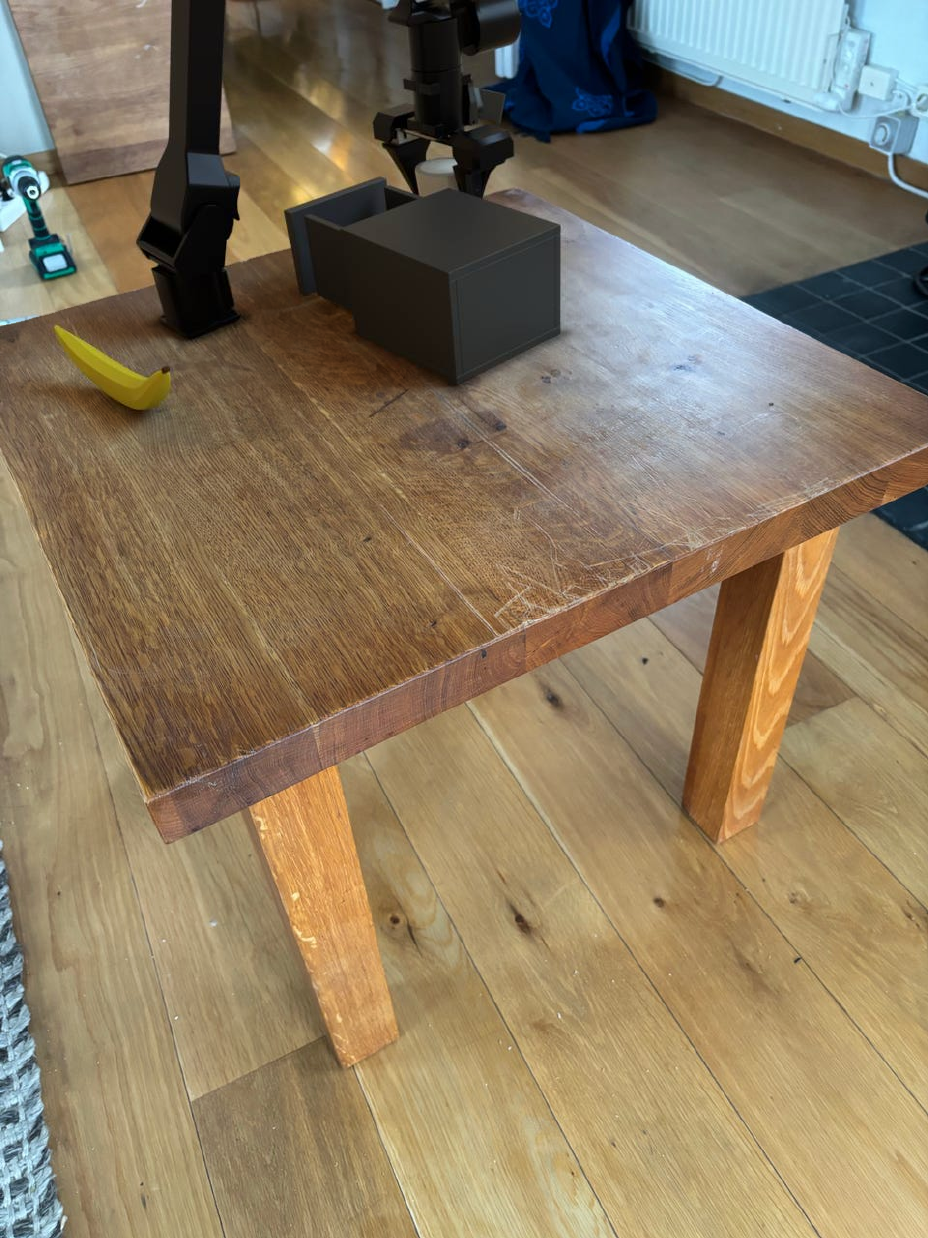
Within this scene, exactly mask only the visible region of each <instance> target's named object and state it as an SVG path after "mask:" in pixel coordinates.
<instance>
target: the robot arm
mask: <svg viewBox="0 0 928 1238" xmlns="http://www.w3.org/2000/svg"><path fill="white" fill-rule="evenodd" d="M170 8H171V10H170V58H169V59H170V62H169V64H170V65H169V103H168V106H169V107H168V138H167V139H168V140H167V144H166V147H165V149H164V151H163V153H162V155H161V158H160V159H159V162H158V163H157V165H156V168H155V172H154V177H153V182H152V183H153V184H152V189H151V193H150V194H151V195H150V200H149V209H150V211H149V213H148V215H147V216H146V217H147V218H146V219H145V222H144V223H143V226H142V227H141V230H140V232H139V233H138V236H137V238H136V240H135V244H136V246H137V248H138V249H139V250H140V252H141V253H142V254H143V256H144V257H145V258H146V259H147V260H148V261H152V262H153V263H155V264H156V266H154V267H150V270H151V274H152V277H153V278H152V279H153V282H154V284H155V288H156V291H157V294H158V298H159V301H160V305H161V308H162V309H161V310H162V312H163V314H161V315H160V316H159V317H158V321H159V323H161V324H163V325H165V327H167V328H169V329H171V330H172V331H174V332H175V333H177V334H179V335H181V336H182V337H184V338H186V339H193V338H196V337H198V336H201V335H203V334H205V333H208V332H210V331H214V330H215V329H218V328H221V327H223V326H225V325H227V324H230V323H233V322H235V321H238V320H240V319H241V318H242V316H241V313H240V312H239V311H237V310H236V309H233V308H235V305H236V304H235V299H234V295H233V291H232V288H231V283H230V279H229V275H228V271H227V269H226V268H225V267H226V259H227V258H226V257H227V246H228V240H230V238H231V236H232V234H233V230H234V224H235V221H237V222H239V221H240V220H241V217H240V214H239V209H238V208H239V206H238V201H239V195H240V191H241V177H240V176H239V175H238V174H235V173H233V172H231V171H229V170H227V169H225V166H224V163H223V160H222V156H221V149H220V148H221V147H220V146H221V145H220V144H221V125H222V124H221V122H222V104H223V103H222V102H223V81H224V79H223V78H224V77H223V76H224V59H225V58H224V56H225V32H226V11H227V0H171V7H170ZM387 22H388V24H391V25H396V26H400V27H405V28H406V40H407V50H408V61H409V62H408V63H409V73H410V76H408V77H404V78H402V81H403V82H402V83H403V89H404V90H407V91H411V92H412V93H411V94H412V103H409V102H404V103H401V104H399V105H395V106H392V107H389V108H386V109H383V110H379V111H377V112H376V114H375V117H373V121H372V129H373V138H374V140H377V141H380V142H381V147H382V149H384V150H385V151H386V152H387V153H388V155H389V156H390V158H391V159H392V161H393V163H394V164H395V166H396V168H397V169H398V171H399V173H400V174H401V175H402V177H403V179H404V181H405V182H406V184H407V186H408V187H409V190H410V192H411V193H413V194H416V195H419V191H418V185H417V180H416V174H415V167H416V166H417V165H418V164H420V163H421V162H424V161H427V152H428V150H429V147H430V145H431V143H432V142H434V143H437V144H441V145H444V146H448V147H451V153H452V154H451V156H452V157H454V159H455V161H456V162H457V165H454V166H452V168H453V172H454V175H455V179H456V182H457V186H458V189H459V191H460V192H463V193H466V194H469V195H472V196H475V197H478V198H481V199H484V196H485V191H486V188H487V185H488V183H489V180H490V177H491V175H492V173H493V171H494V170H495V169H496V168H497V167H498V166H501V165H503V164H505V163H506V161H507V160H509V159H511V158H514V157H515V136H514V135H513V134H512V133H511V132H510V131H509V129H506V128H503V127H499V126H495V125H491V124H488V123H487V124H484V125H481V126H478V127H476V128H475V127H474V128H472V129H469V130H466V127H467V126H469V127H472V126H475V125H478V124H479V119H480V120H482V121H483V120H486V121H490V122H492V123H494V124H496V125H501V122H502V116H503V110H504V106H505V100H506V93H502V92H499V91H494V90H489V89H485V88H480V87H477V86H474V78H473V76H472V73H471V72H466V71H463V58H462V54H463V55H465V56H467V57H474V56H478V55H481V54H484V53H488V52H492V51H495V50H499V49H502V48H506V47H509V46H512V45H513V44H515V43H516V42H517V40H518V39H519V37H520V34H521V31H522V24H523V19H522V13H521V12H520V8H519V4H518V1H517V0H448V3H446V4H445V3H444V2H442V1H441V0H420V1H417V0H398V2H397V4H396V5H395V7H394V8H393V9H392V10H391V11H390V13H389V15H388V16H387Z"/></svg>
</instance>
